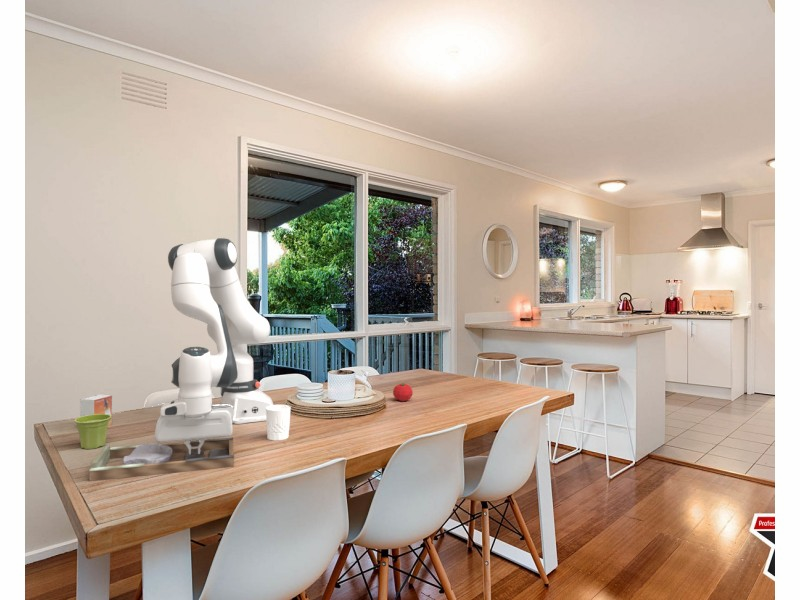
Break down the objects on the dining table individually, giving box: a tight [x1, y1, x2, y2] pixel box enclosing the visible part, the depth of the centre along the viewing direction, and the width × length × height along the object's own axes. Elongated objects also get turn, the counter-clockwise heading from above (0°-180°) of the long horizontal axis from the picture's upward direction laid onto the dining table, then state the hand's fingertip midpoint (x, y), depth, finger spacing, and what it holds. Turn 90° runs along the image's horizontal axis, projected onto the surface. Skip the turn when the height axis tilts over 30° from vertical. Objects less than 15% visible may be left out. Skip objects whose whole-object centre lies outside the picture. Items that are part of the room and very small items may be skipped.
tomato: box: [392, 382, 414, 402], centre depth 214 cm, size 9×9×8 cm
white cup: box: [265, 404, 292, 442], centre depth 157 cm, size 8×8×10 cm
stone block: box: [122, 443, 173, 465], centre depth 133 cm, size 12×5×10 cm
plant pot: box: [74, 414, 111, 450], centre depth 145 cm, size 9×9×9 cm
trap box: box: [89, 437, 235, 482], centre depth 134 cm, size 34×18×4 cm, turn 110°
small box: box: [79, 394, 113, 427], centre depth 165 cm, size 8×6×10 cm
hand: (194, 453), depth 136 cm, fingers closed
